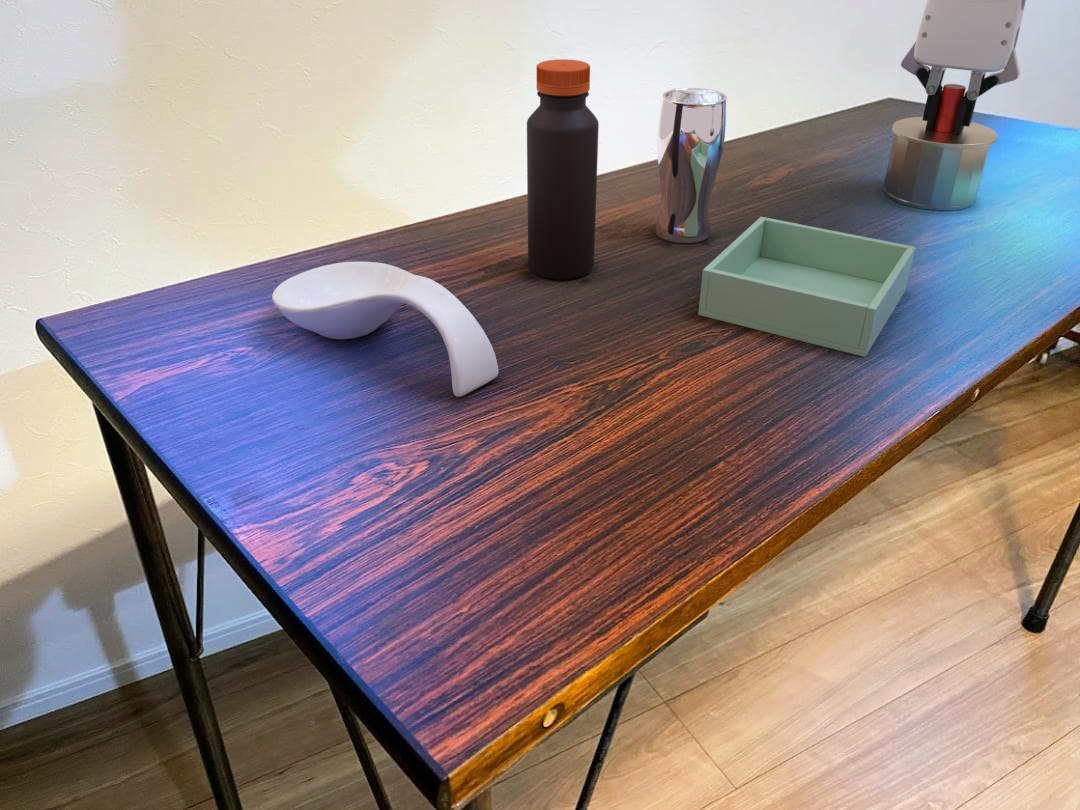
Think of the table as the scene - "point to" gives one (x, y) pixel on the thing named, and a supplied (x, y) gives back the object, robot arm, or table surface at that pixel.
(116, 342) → the table surface
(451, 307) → the spoon rest
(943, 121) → the lid
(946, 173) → the pot
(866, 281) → the tray
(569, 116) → the bottle
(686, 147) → the silver metal tumbler
